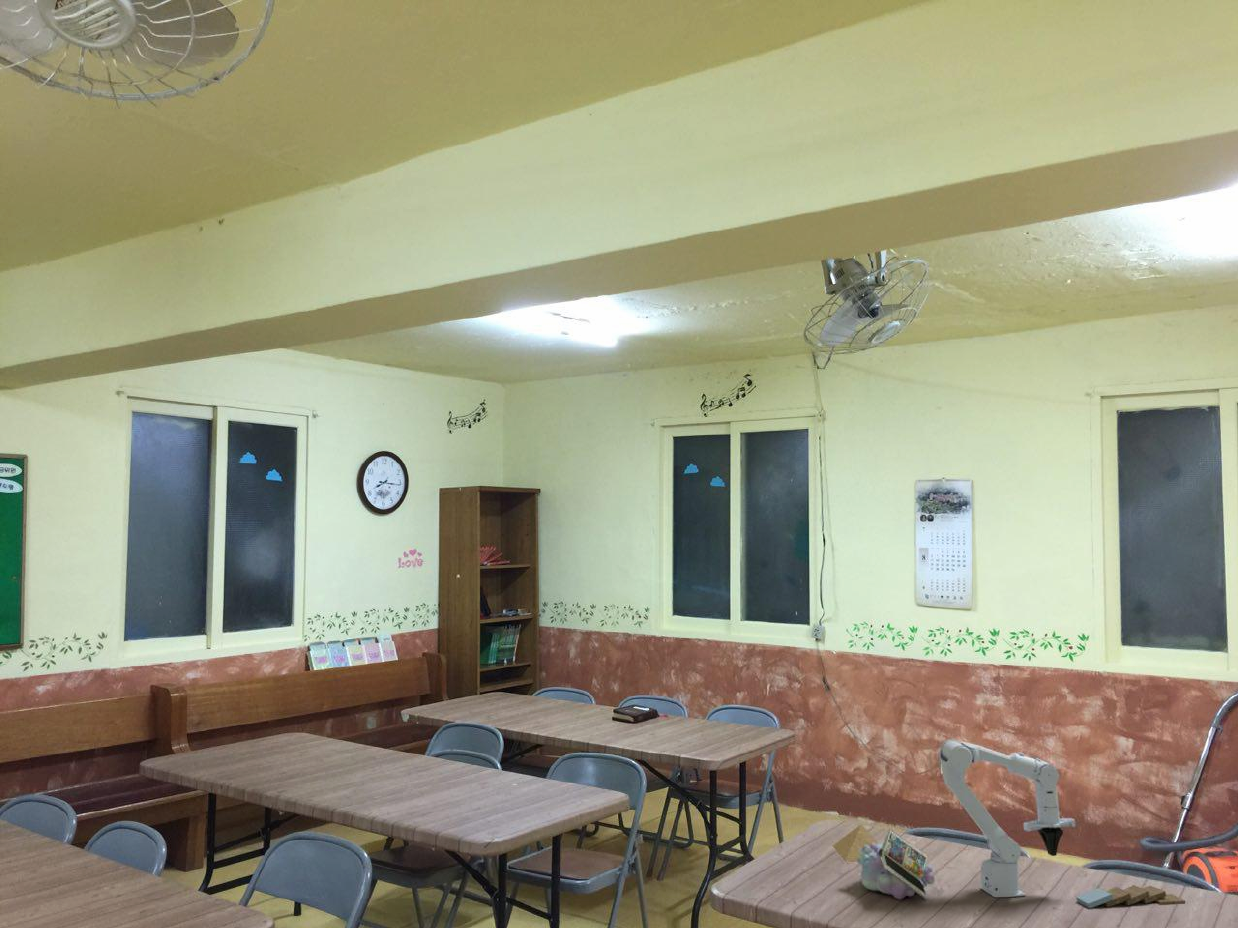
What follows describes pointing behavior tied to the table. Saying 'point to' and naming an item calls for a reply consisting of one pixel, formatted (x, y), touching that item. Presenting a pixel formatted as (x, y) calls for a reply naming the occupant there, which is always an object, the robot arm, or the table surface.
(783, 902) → the table surface
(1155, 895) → the domino
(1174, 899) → the domino
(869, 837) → the model pyramid
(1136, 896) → the domino
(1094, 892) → the domino
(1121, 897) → the domino
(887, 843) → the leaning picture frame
